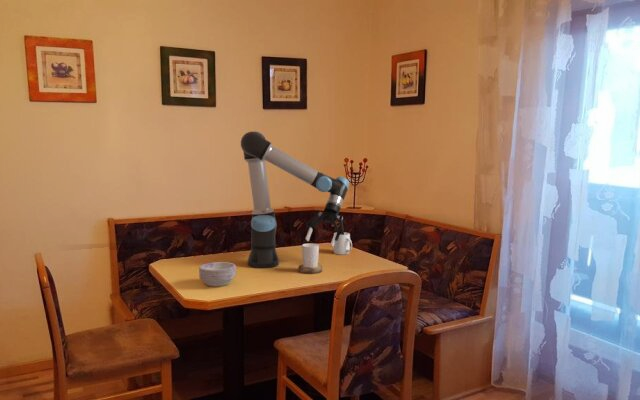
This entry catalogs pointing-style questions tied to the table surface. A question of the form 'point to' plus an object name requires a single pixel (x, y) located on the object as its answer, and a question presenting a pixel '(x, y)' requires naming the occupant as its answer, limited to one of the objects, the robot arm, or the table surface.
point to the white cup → (310, 255)
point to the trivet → (310, 269)
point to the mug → (343, 244)
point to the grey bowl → (217, 273)
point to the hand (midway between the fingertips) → (319, 243)
